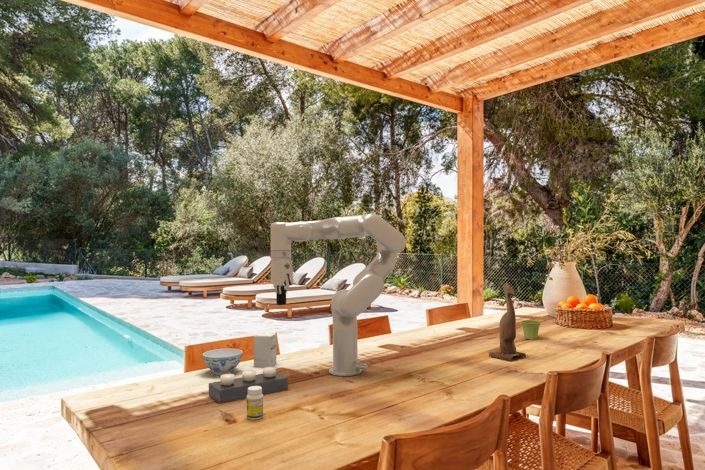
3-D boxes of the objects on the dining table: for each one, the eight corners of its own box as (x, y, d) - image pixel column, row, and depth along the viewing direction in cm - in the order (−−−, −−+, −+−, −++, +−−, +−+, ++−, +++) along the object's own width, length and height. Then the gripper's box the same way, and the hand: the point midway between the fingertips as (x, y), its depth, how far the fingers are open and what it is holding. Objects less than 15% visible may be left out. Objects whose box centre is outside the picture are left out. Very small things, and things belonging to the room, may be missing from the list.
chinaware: (230, 365, 198) (230, 346, 198) (250, 372, 188) (250, 352, 188) (195, 372, 188) (195, 352, 188) (215, 380, 177) (214, 359, 177)
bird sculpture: (512, 363, 200) (514, 285, 200) (488, 357, 208) (489, 282, 208) (526, 358, 207) (528, 283, 207) (502, 353, 216) (503, 281, 216)
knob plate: (274, 382, 174) (274, 371, 174) (288, 389, 165) (287, 377, 165) (208, 395, 160) (208, 383, 160) (219, 403, 152) (219, 390, 152)
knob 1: (231, 390, 161) (231, 373, 161) (236, 393, 158) (236, 375, 158) (218, 392, 159) (218, 375, 159) (223, 395, 155) (223, 378, 155)
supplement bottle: (247, 414, 142) (247, 385, 142) (264, 413, 142) (264, 385, 142) (245, 420, 137) (245, 390, 137) (262, 419, 137) (262, 390, 137)
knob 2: (272, 382, 170) (272, 366, 170) (278, 385, 166) (278, 368, 166) (260, 384, 167) (260, 368, 168) (266, 387, 164) (266, 370, 164)
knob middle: (252, 385, 166) (252, 369, 166) (257, 389, 162) (257, 372, 162) (240, 388, 163) (240, 371, 163) (245, 391, 160) (245, 374, 160)
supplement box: (270, 368, 194) (270, 336, 194) (253, 367, 196) (253, 335, 196) (277, 363, 201) (276, 332, 202) (260, 362, 203) (260, 332, 203)
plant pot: (543, 340, 242) (543, 323, 242) (524, 340, 242) (524, 323, 242) (536, 336, 251) (536, 320, 252) (518, 336, 252) (518, 320, 252)
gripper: (299, 255, 177) (300, 305, 177) (280, 254, 189) (281, 301, 189) (281, 255, 173) (281, 307, 172) (263, 255, 185) (263, 303, 185)
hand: (281, 304), depth 181 cm, fingers closed
